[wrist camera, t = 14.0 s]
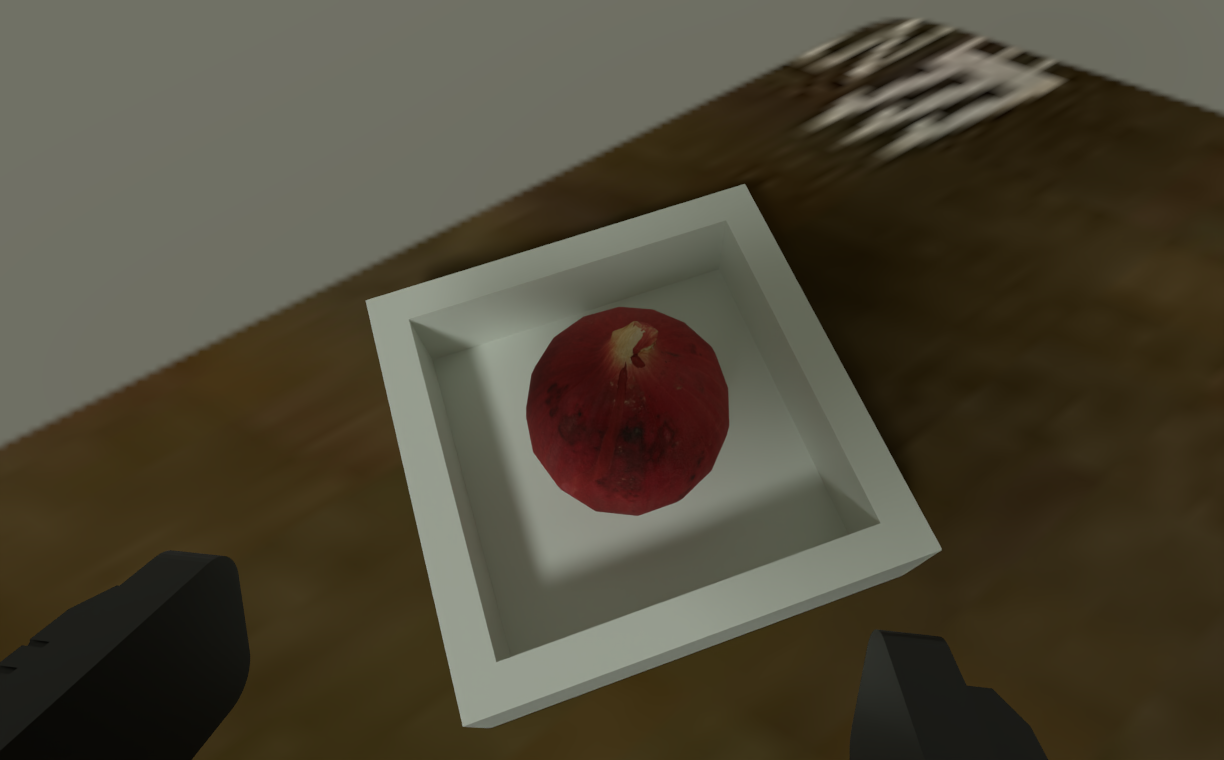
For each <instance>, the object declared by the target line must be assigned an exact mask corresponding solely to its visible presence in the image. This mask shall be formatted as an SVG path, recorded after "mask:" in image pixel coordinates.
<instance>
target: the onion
mask: <svg viewBox="0 0 1224 760" xmlns="http://www.w3.org/2000/svg"><path fill="white" fill-rule="evenodd" d="M526 420H527V425H528V430H529V435H530V440H531V445H532V450H533V453H534V454H535V456H536V457H537V458H538V460H539V461H540V463H541V464H542V465H543V467H544V468H545V469H546V471H547V472H548V474H549V475H550V476H551V478H552V479H553V480H554V482H555V483H556V484H557V486H558V487H559V488H560V489H561V490H562V491H564V492H565V493H567V494H569V495H570V496H572V497H573V498H575V499H577V500H578V501H580V502H581V503H583V504H585V505H586V506H588V507H589V508H591V509H593V510H594V511H596V512H605V513H615V514H624V515H633V516H639V515H642V514H645V513H648V512H651V511H654V510H656V509H659V508H662V507H665V506H668V505H671V504H673V503H676V502H678V501H680V500H681V499H683V498H684V497H685V496H686V495H687V494H688V493H689V492H690V491H691V490H692V489H693V488H694V487H695V486H696V485H697V484H698V483H699V482H700V481H701V480H702V479H703V478H704V477H706V476H707V475H708V474H709V473H710V472H711V471H712V469H713V466H714V464H715V462H716V459H717V457H718V455H719V452H720V450H721V448H722V445H723V443H724V441H725V438H726V436H727V432H728V429H729V397H728V386H727V384H726V381H725V378H724V375H723V373H722V370H721V367H720V364H719V362H718V359H717V356H716V354H715V352H714V350H713V348H712V347H711V346H710V345H709V344H708V343H707V342H706V341H705V340H704V339H703V338H701V337H700V336H699V335H698V334H697V333H696V332H695V331H694V330H692V329H691V328H690V327H689V326H688V325H687V324H686V323H685V322H682V321H680V320H677V319H675V318H673V317H670V316H668V315H665V314H663V313H661V312H658V311H656V310H653V309H642V308H630V307H616V308H612V309H609V310H605V311H602V312H598V313H595V314H591V315H587V316H584V317H582V318H581V319H579V320H578V321H576V322H575V323H574V324H572V325H571V326H569V327H568V328H566V329H565V330H564V331H562V332H561V333H559V334H558V335H556V336H555V337H554V338H553V339H552V341H551V342H550V344H549V345H548V347H547V348H546V350H545V352H544V353H543V355H542V356H541V358H540V359H539V361H538V363H537V364H536V366H535V368H534V370H533V372H532V374H531V380H530V386H529V392H528V399H527V405H526Z"/></svg>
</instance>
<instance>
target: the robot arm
mask: <svg viewBox="0 0 1224 760" xmlns="http://www.w3.org/2000/svg"><path fill="white" fill-rule="evenodd" d="M249 666H250V650H249V644H248V637H247V630H246V623H245V616H244V609H243V603H242V596H241V589H240V582H239V575H238V570H237V567H236V565H235V563H234V562H233V560H231V559H230V558H229V557H226V556H218V555H208V554H199V553H190V552H181V551H171V550H170V551H165V552H163V553H161V554H159V555H158V556H156V557H155V558H154V559H152V560H151V561H150V562H149V563H147V564H146V565H145V566H144V567H142V568H141V569H140V570H139V571H137V572H136V573H135V574H134V575H132V576H131V577H130V578H129V579H127V580H126V581H125V582H124V583H123V584H121V585H120V586H115V587H113V588H111V589H109V590H107V591H105V592H103V593H101V594H99V595H97V596H95V597H93V598H91V599H89V600H86V601H84V602H82V603H80V604H78V605H76V606H74V607H72V608H70V609H68V610H67V611H66V612H65V613H63V614H62V615H61V616H59V617H58V618H57V619H56V620H54V621H53V622H52V623H50V624H49V625H48V626H47V627H45V628H44V629H43V630H41V631H40V632H39V633H38V634H36V635H35V636H34V637H32V638H31V639H30V643H29V645H28V646H21V647H19V648H18V649H17V650H16V651H14V652H13V653H12V654H10V655H9V656H8V657H7V658H5V659H4V660H3V661H1V662H0V760H192V758H193V757H194V756H195V755H196V753H197V752H198V751H199V750H200V748H201V747H202V746H203V745H204V743H205V742H206V741H207V740H208V738H209V737H210V736H211V735H212V733H213V732H214V731H215V730H216V728H217V727H218V726H219V725H220V723H221V722H222V721H223V720H224V718H225V717H226V716H227V715H228V713H229V712H230V711H231V710H232V708H233V707H234V705H235V704H236V703H237V701H238V699H239V697H240V695H241V693H242V691H243V689H244V686H245V683H246V680H247V677H248V672H249ZM850 760H1048V759H1047V757H1046V755H1045V753H1044V751H1043V749H1042V747H1041V746H1040V744H1039V742H1038V740H1037V738H1036V736H1035V734H1034V732H1033V731H1032V729H1031V727H1030V726H1029V725H1028V724H1027V723H1026V722H1025V721H1024V720H1023V719H1022V718H1021V717H1020V716H1019V715H1018V714H1017V713H1016V712H1015V711H1014V710H1013V709H1012V708H1011V707H1010V706H1009V705H1008V704H1007V703H1006V702H1005V701H1004V700H1003V699H1002V698H1001V697H1000V696H999V695H998V694H997V693H996V692H995V691H994V690H993V689H991V688H982V687H973V686H966V684H965V681H964V679H963V677H962V675H961V673H960V671H959V668H958V666H957V664H956V662H955V660H954V657H953V655H952V653H951V651H950V649H949V646H948V645H947V643H946V641H945V640H944V639H943V638H942V637H939V636H930V635H921V634H912V633H902V632H893V631H884V630H874V631H873V632H872V634H871V636H870V639H869V643H868V647H867V652H866V657H865V662H864V667H863V673H862V678H861V683H860V688H859V693H858V698H857V704H856V709H855V714H854V719H853V724H852V730H851V738H850Z"/></svg>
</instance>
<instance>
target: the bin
mask: <svg viewBox="0 0 1224 760" xmlns="http://www.w3.org/2000/svg"><path fill="white" fill-rule="evenodd" d="M366 304H367V309H368V313H369V317H370V322H371V326H372V331H373V335H374V339H375V344H376V348H377V352H378V357H379V361H380V366H381V370H382V374H383V379H384V383H385V387H386V392H387V396H388V401H389V405H390V409H391V414H392V418H393V423H394V427H395V431H396V436H397V440H398V444H399V449H400V453H401V458H402V462H403V466H404V471H405V475H406V479H407V484H408V488H409V493H410V497H411V501H412V506H413V510H414V515H415V519H416V523H417V528H418V532H419V536H420V541H421V545H422V550H423V554H424V558H425V563H426V567H427V571H428V576H429V580H430V585H431V589H432V593H433V598H434V602H435V607H436V611H437V615H438V620H439V624H440V628H441V633H442V637H443V642H444V646H445V650H446V655H447V659H448V663H449V668H450V672H451V677H452V681H453V685H454V690H455V694H456V699H457V703H458V707H459V712H460V716H461V720H462V725H463V727H478V728H492V727H495V726H497V725H500V724H503V723H505V722H508V721H511V720H514V719H516V718H519V717H522V716H524V715H527V714H530V713H532V712H535V711H538V710H541V709H543V708H546V707H549V706H551V705H554V704H557V703H559V702H562V701H565V700H568V699H570V698H573V697H576V696H578V695H581V694H584V693H586V692H589V691H592V690H595V689H597V688H600V687H603V686H605V685H608V684H611V683H613V682H616V681H619V680H622V679H624V678H627V677H630V676H632V675H635V674H638V673H640V672H643V671H646V670H649V669H651V668H654V667H657V666H659V665H662V664H665V663H667V662H670V661H673V660H676V659H678V658H681V657H684V656H686V655H689V654H692V653H694V652H697V651H700V650H703V649H705V648H708V647H711V646H713V645H716V644H719V643H721V642H724V641H727V640H729V639H732V638H735V637H738V636H740V635H743V634H746V633H748V632H751V631H754V630H756V629H759V628H762V627H765V626H767V625H770V624H773V623H775V622H778V621H781V620H783V619H786V618H789V617H792V616H794V615H797V614H800V613H802V612H805V611H808V610H810V609H813V608H816V607H819V606H821V605H824V604H827V603H829V602H832V601H835V600H837V599H840V598H843V597H846V596H848V595H851V594H854V593H856V592H859V591H862V590H864V589H867V588H870V587H873V586H875V585H878V584H881V583H883V582H886V581H889V580H891V579H894V578H897V577H900V576H902V575H904V574H906V573H907V572H909V571H910V570H912V569H913V568H915V567H916V566H918V565H920V564H921V563H923V562H924V561H926V560H927V559H929V558H930V557H932V556H933V555H935V554H936V553H938V552H940V551H941V550H942V549H941V547H940V545H939V543H938V541H937V539H936V537H935V536H934V534H933V532H932V530H931V528H930V526H929V524H928V523H927V521H926V519H925V517H924V515H923V513H922V511H921V510H920V508H919V506H918V504H917V502H916V500H915V498H914V497H913V495H912V493H911V491H910V489H909V487H908V485H907V484H906V482H905V480H904V478H903V476H902V474H901V472H900V471H899V469H898V467H897V465H896V463H895V461H894V459H893V458H892V456H891V454H890V452H889V450H888V448H887V446H886V445H885V443H884V441H883V439H882V437H881V435H880V434H879V432H878V430H877V428H876V426H875V424H874V422H873V421H872V419H871V417H870V415H869V413H868V411H867V409H866V408H865V406H864V404H863V402H862V400H861V398H860V396H859V395H858V393H857V391H856V389H855V387H854V385H853V383H852V382H851V380H850V378H849V376H848V374H847V372H846V370H845V369H844V367H843V365H842V363H841V361H840V359H839V357H838V356H837V354H836V352H835V350H834V348H833V346H832V344H831V343H830V341H829V339H828V337H827V335H826V333H825V331H824V330H823V328H822V326H821V324H820V322H819V320H818V318H817V317H816V315H815V313H814V311H813V309H812V307H811V305H810V304H809V302H808V300H807V298H806V296H805V294H804V293H803V291H802V289H801V287H800V285H799V283H798V281H797V280H796V278H795V276H794V274H793V272H792V270H791V268H790V267H789V265H788V263H787V261H786V259H785V257H784V255H783V254H782V252H781V250H780V248H779V246H778V244H777V242H776V241H775V239H774V237H773V235H772V233H771V231H770V229H769V228H768V226H767V224H766V222H765V220H764V218H763V216H762V215H761V213H760V211H759V209H758V207H757V205H756V203H755V202H754V200H753V198H752V196H751V194H750V192H749V190H748V189H747V187H746V185H745V184H743V185H739V186H736V187H733V188H730V189H726V190H723V191H720V192H717V193H713V194H710V195H707V196H704V197H700V198H697V199H694V200H691V201H687V202H684V203H681V204H678V205H674V206H671V207H668V208H665V209H661V210H658V211H655V212H652V213H648V214H645V215H642V216H639V217H636V218H632V219H629V220H626V221H623V222H619V223H616V224H613V225H610V226H606V227H603V228H600V229H597V230H593V231H590V232H587V233H584V234H580V235H577V236H574V237H571V238H567V239H564V240H561V241H558V242H554V243H551V244H548V245H545V246H541V247H538V248H535V249H532V250H528V251H525V252H522V253H519V254H515V255H512V256H509V257H506V258H502V259H499V260H496V261H493V262H489V263H486V264H483V265H480V266H476V267H473V268H470V269H467V270H463V271H460V272H457V273H454V274H450V275H447V276H444V277H441V278H437V279H434V280H431V281H428V282H424V283H421V284H418V285H415V286H411V287H408V288H405V289H402V290H398V291H395V292H392V293H389V294H385V295H382V296H379V297H376V298H372V299H369V300H366ZM616 307H630V308H642V309H653V310H656V311H658V312H661V313H663V314H665V315H668V316H670V317H673V318H675V319H677V320H680V321H682V322H685V323H686V324H687V325H688V326H689V327H690V328H691V329H692V330H694V331H695V332H696V333H697V334H698V335H699V336H700V337H701V338H703V339H704V340H705V341H706V342H707V343H708V344H709V345H710V346H711V347H712V348H713V350H714V352H715V354H716V356H717V359H718V362H719V364H720V367H721V370H722V373H723V375H724V378H725V381H726V384H727V386H728V397H729V429H728V432H727V436H726V438H725V441H724V443H723V445H722V448H721V450H720V452H719V455H718V457H717V459H716V462H715V464H714V466H713V469H712V471H711V472H710V473H709V474H708V475H707V476H706V477H704V478H703V479H702V480H701V481H700V482H699V483H698V484H697V485H696V486H695V487H694V488H693V489H692V490H691V491H690V492H689V493H688V494H687V495H686V496H685V497H684V498H683V499H681V500H680V501H678V502H676V503H673V504H671V505H668V506H665V507H662V508H659V509H656V510H654V511H651V512H648V513H645V514H642V515H639V516H633V515H624V514H615V513H605V512H596V511H594V510H593V509H591V508H589V507H588V506H586V505H585V504H583V503H581V502H580V501H578V500H577V499H575V498H573V497H572V496H570V495H569V494H567V493H565V492H564V491H562V490H561V489H560V488H559V487H558V486H557V484H556V483H555V482H554V480H553V479H552V478H551V476H550V475H549V474H548V472H547V471H546V469H545V468H544V467H543V465H542V464H541V463H540V461H539V460H538V458H537V457H536V456H535V454H534V453H533V450H532V445H531V440H530V435H529V430H528V425H527V420H526V405H527V399H528V392H529V386H530V380H531V374H532V372H533V370H534V368H535V366H536V364H537V363H538V361H539V359H540V358H541V356H542V355H543V353H544V352H545V350H546V348H547V347H548V345H549V344H550V342H551V341H552V339H553V338H554V337H555V336H556V335H558V334H559V333H561V332H562V331H564V330H565V329H566V328H568V327H569V326H571V325H572V324H574V323H575V322H576V321H578V320H579V319H581V318H582V317H584V316H587V315H591V314H595V313H598V312H602V311H605V310H609V309H612V308H616Z"/></svg>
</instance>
